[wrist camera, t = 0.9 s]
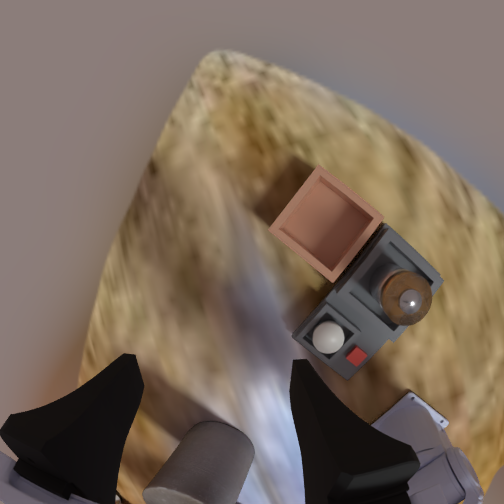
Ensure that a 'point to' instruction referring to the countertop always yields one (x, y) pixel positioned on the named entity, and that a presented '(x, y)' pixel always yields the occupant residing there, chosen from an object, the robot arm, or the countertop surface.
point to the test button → (328, 337)
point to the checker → (363, 304)
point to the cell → (401, 294)
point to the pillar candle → (203, 467)
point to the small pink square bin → (326, 223)
